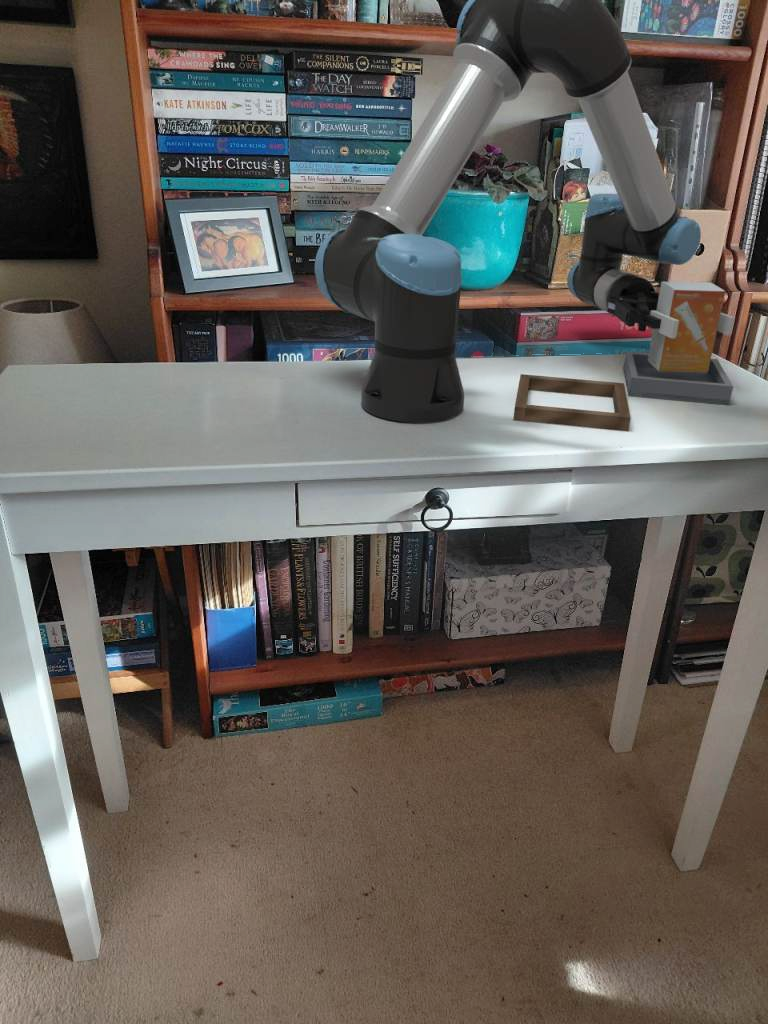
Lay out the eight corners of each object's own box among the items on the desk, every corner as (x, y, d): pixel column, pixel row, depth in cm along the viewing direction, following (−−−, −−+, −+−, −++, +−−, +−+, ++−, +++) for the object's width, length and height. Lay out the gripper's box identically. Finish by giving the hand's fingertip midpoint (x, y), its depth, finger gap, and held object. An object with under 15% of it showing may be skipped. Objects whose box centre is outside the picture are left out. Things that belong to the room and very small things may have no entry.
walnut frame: (513, 420, 117) (514, 406, 117) (519, 386, 132) (520, 374, 131) (628, 431, 115) (630, 417, 114) (621, 395, 129) (623, 383, 128)
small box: (658, 372, 130) (673, 289, 124) (646, 360, 136) (660, 280, 130) (709, 373, 130) (726, 290, 124) (695, 362, 136) (711, 281, 130)
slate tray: (628, 396, 129) (631, 377, 127) (623, 368, 142) (625, 351, 141) (728, 405, 126) (733, 386, 125) (713, 376, 139) (717, 359, 138)
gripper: (674, 314, 149) (758, 348, 130) (566, 319, 143) (636, 356, 124) (682, 272, 146) (769, 300, 127) (571, 275, 140) (645, 306, 121)
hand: (703, 327), depth 126 cm, fingers closed on small box, 9 cm apart
